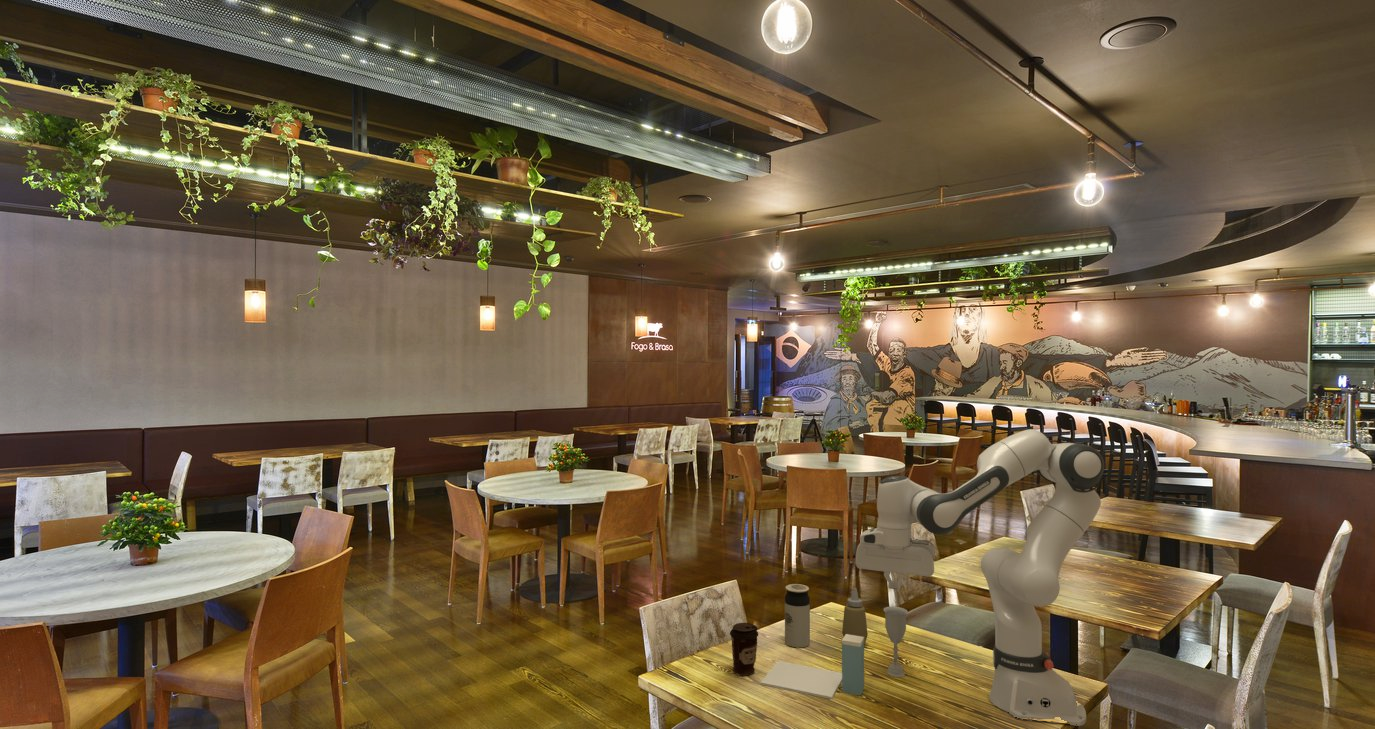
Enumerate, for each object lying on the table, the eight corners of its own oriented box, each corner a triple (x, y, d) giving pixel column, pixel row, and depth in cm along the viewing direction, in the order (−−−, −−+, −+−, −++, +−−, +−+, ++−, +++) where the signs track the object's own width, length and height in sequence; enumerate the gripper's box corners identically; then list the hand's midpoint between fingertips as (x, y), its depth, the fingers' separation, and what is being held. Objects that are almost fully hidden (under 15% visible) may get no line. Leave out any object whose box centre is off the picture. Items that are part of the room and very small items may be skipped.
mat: (844, 675, 195) (844, 673, 195) (831, 699, 180) (831, 697, 181) (778, 662, 204) (778, 660, 204) (760, 684, 189) (760, 682, 189)
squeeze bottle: (870, 649, 213) (870, 592, 214) (845, 649, 214) (844, 592, 214) (864, 639, 221) (864, 584, 222) (839, 639, 222) (839, 584, 222)
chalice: (909, 679, 192) (909, 615, 193) (884, 677, 194) (884, 614, 194) (906, 668, 200) (906, 607, 200) (882, 666, 201) (882, 605, 201)
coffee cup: (765, 671, 198) (765, 626, 198) (747, 680, 191) (747, 634, 192) (741, 662, 203) (741, 619, 204) (723, 671, 197) (724, 626, 198)
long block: (864, 687, 187) (864, 636, 187) (860, 695, 183) (860, 643, 183) (846, 684, 189) (845, 633, 190) (842, 691, 185) (841, 640, 185)
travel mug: (804, 637, 223) (804, 582, 224) (813, 647, 215) (813, 590, 216) (781, 639, 221) (781, 584, 222) (790, 649, 214) (790, 591, 214)
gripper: (936, 538, 181) (936, 590, 180) (858, 530, 189) (858, 580, 189) (933, 543, 175) (934, 597, 175) (853, 535, 184) (854, 586, 183)
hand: (894, 588), depth 182 cm, fingers closed
